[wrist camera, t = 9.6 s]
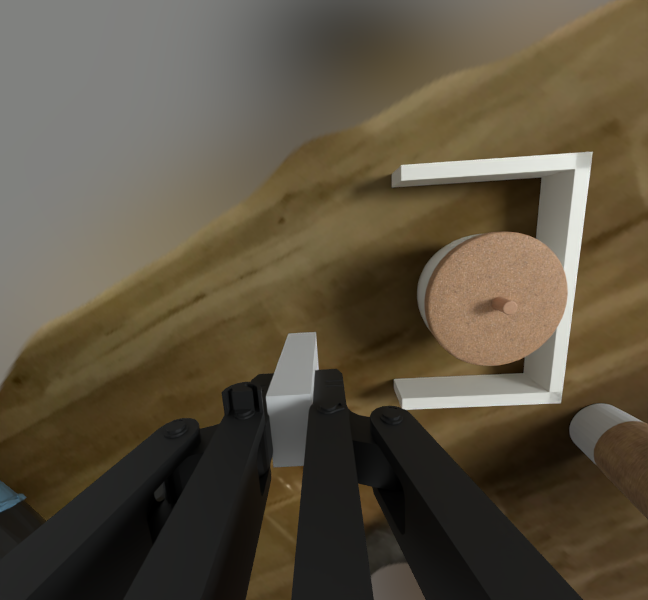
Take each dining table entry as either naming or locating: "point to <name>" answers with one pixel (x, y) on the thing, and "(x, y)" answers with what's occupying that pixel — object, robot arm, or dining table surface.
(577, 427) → the coffee cup
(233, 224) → the dining table surface
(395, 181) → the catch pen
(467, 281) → the lidded jar
